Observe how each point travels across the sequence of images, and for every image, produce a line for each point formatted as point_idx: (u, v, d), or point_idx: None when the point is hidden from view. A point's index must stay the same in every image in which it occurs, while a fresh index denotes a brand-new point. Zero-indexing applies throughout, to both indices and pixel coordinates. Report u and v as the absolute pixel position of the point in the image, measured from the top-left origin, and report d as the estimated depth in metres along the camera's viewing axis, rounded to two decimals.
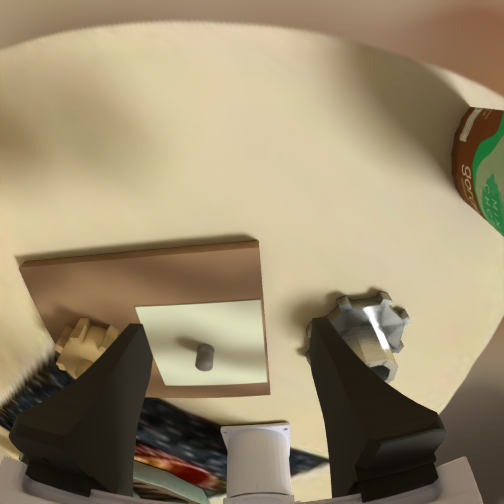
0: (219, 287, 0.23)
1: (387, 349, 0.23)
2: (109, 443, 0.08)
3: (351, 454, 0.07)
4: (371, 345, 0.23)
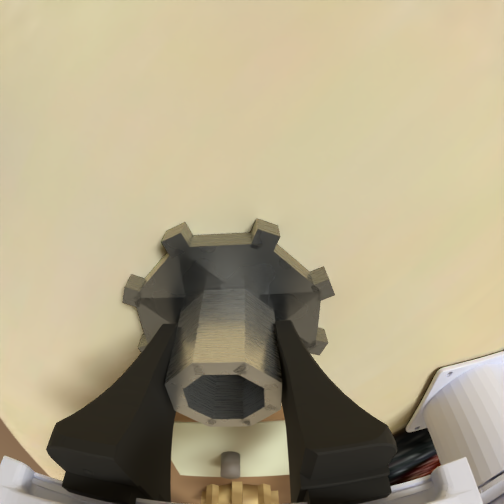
0: None
1: (185, 341, 0.11)
2: (152, 449, 0.08)
3: (298, 461, 0.07)
4: None
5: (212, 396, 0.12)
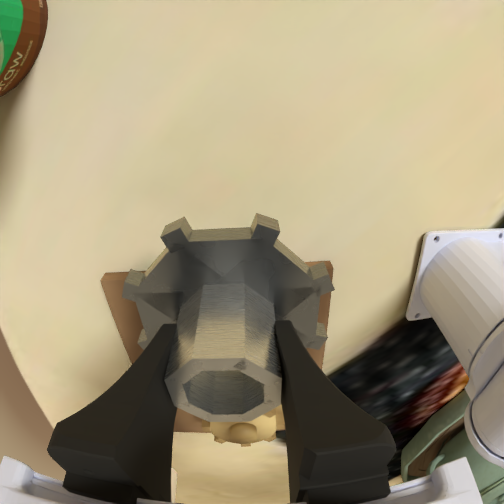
0: None
1: (184, 336, 0.11)
2: (152, 449, 0.08)
3: (297, 461, 0.07)
4: None
5: (212, 392, 0.12)
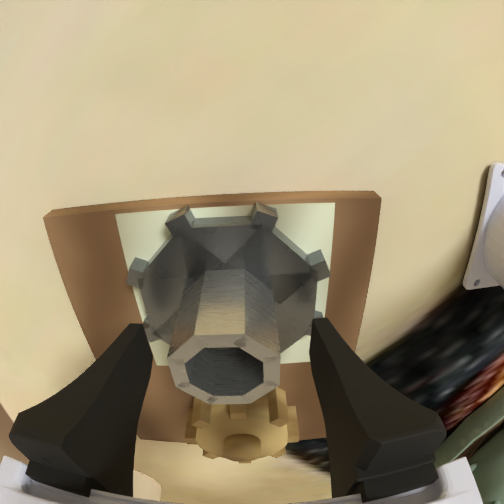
0: (105, 268, 0.15)
1: (187, 317, 0.12)
2: (109, 443, 0.08)
3: (351, 454, 0.07)
4: None
5: (213, 374, 0.13)
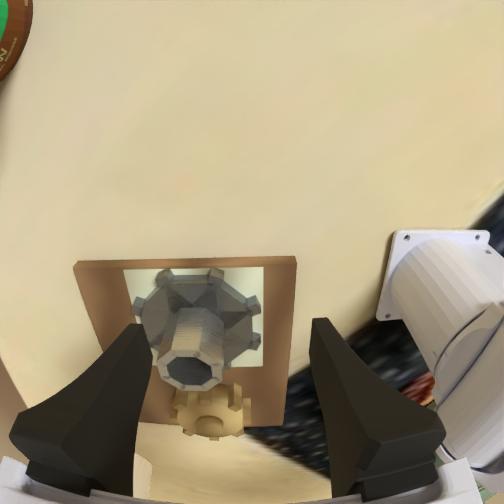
0: (116, 301, 0.23)
1: (168, 338, 0.20)
2: (109, 443, 0.08)
3: (351, 454, 0.07)
4: None
5: (184, 372, 0.21)
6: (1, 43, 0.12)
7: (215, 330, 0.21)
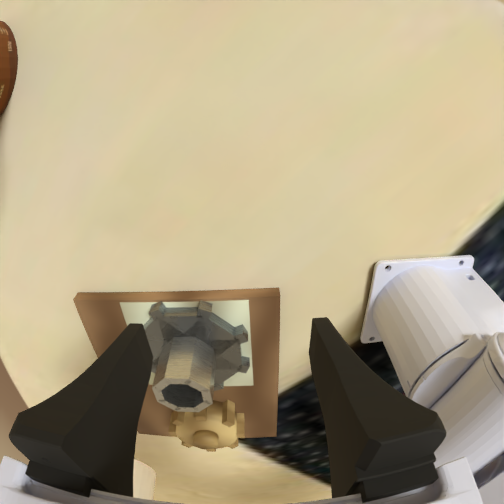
0: (115, 329, 0.24)
1: (162, 366, 0.21)
2: (109, 443, 0.08)
3: (351, 454, 0.07)
4: None
5: (179, 395, 0.22)
6: None
7: (205, 358, 0.22)
